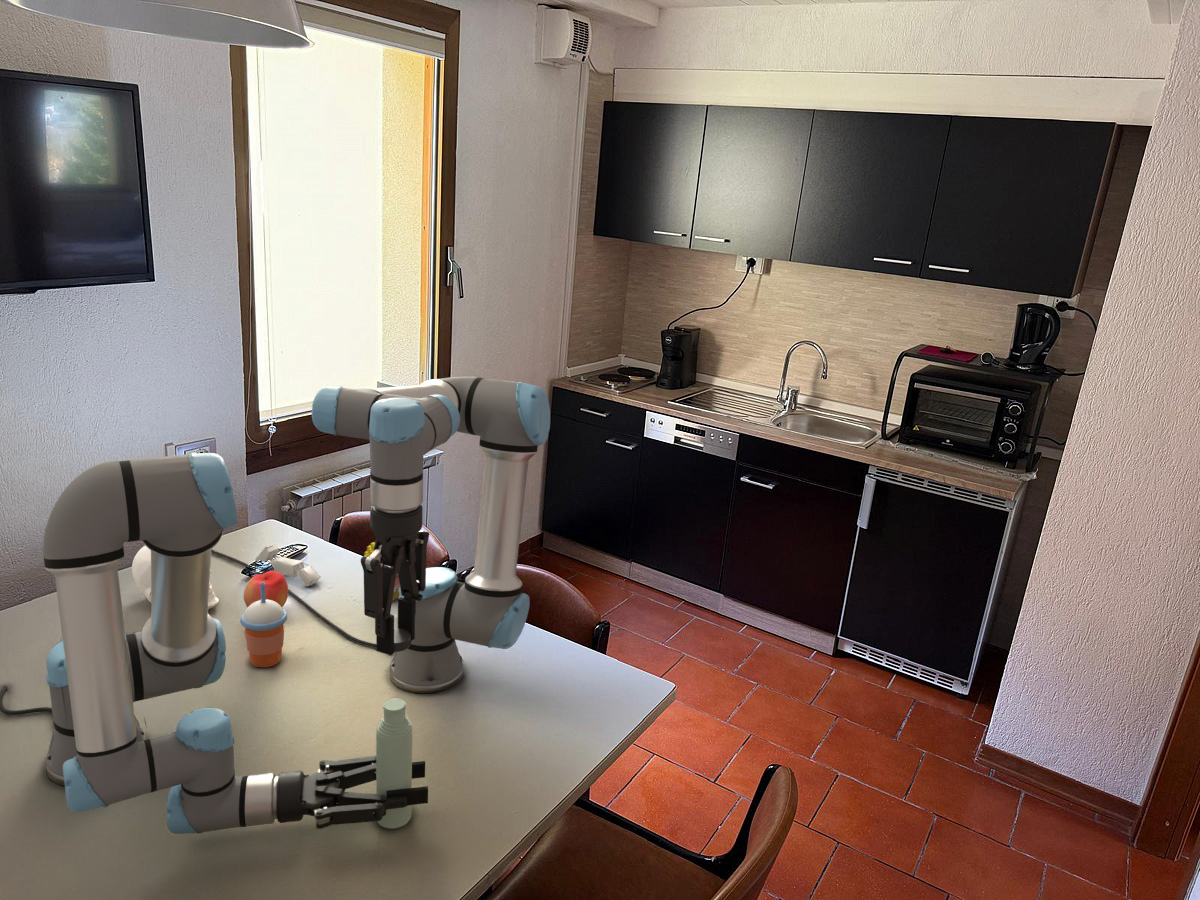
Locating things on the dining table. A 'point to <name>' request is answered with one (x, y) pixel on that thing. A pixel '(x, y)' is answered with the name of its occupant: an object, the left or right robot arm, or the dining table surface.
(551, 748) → the dining table surface
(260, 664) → the cup with straw
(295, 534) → the dining table surface
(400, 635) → the cap
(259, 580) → the apple
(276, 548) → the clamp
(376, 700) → the dining table surface
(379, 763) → the bottle
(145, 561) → the skull
